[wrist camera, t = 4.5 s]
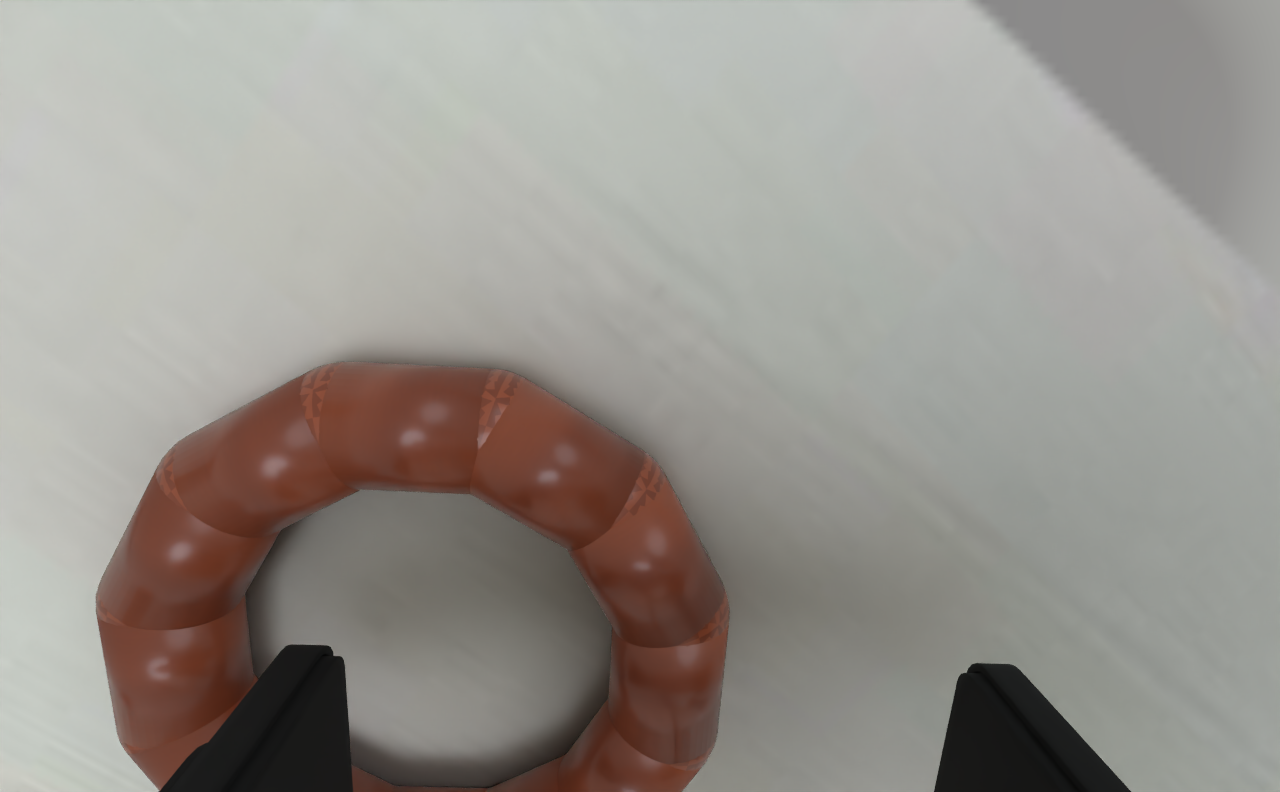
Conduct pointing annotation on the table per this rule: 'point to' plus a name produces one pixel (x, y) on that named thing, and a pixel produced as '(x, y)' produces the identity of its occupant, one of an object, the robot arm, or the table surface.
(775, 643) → the table surface
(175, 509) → the ring
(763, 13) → the table surface
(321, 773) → the robot arm
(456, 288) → the table surface
